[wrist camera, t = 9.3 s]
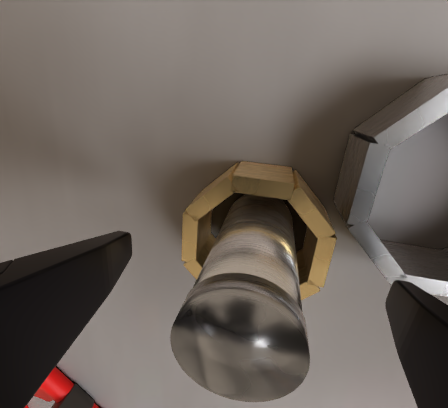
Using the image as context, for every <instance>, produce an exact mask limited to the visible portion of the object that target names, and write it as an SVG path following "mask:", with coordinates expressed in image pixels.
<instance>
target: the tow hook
mask: <svg viewBox="0 0 448 408" xmlns="http://www.w3.org/2000/svg"><path fill="white" fill-rule="evenodd" d="M34 396H36V397H39V398H41V399H43V400H45V401H52V400H54V401H55V403H54V405H53V406H52V407H51V408H99V407H98V406H97V405H96V404H95V403H94V400H93V399H92V398H91V397H90V396H89V395H88V394H87V393H86V392H85V391H84V390H83V389H82V388H81V387H79V386H78V385H77V384H76V383H72V382H71V381H70V380H69V379H68V378H67V377H66V376H65V375H64V374H63V373H62V372H61V371H60V370H58V369H57V368H56V367H54V369H53V370H52V372H51V373H50V374H49V376H48V377H47V378H46V380H45V381H44V382H43V384H42V385H41V386H40V388H39V389H38V390H37V392H36V393H35V394H34ZM25 408H29V407H28V406H27V405H26V406H25Z"/></svg>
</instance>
